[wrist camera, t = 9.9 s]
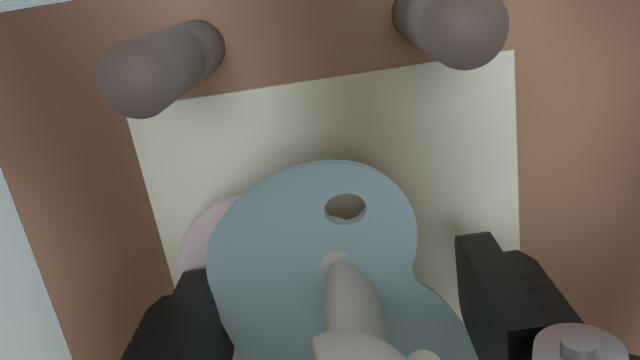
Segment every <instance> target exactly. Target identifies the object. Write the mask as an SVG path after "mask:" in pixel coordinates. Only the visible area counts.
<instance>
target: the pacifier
mask: <svg viewBox="0 0 640 360" xmlns="http://www.w3.org/2000/svg"><path fill="white" fill-rule="evenodd" d="M340 194H354V195H357V196H359V197H361V198H362V199H363V200H364V202H365V208H364V210H363V211H362V212H361V213H360V214H359V215H358V216H356V217H354V218H352V219H348V220H345V219H342V218H339V217H336V216H329V214H328V213H327V212H326V211H325V208H324V207H325V205H326V203H327V202H328V201H329V200H330V199H331V198H332V197H334V196H336V195H340ZM417 240H418V233H417V222H416V218H415V215H414V212H413V209H412V206H411V204H410V202H409V201H408V199H407V197H406V196H405V195H404V193H403V192H402V190H401V189H400V188H399V187H398V186H397V184H396V183H395V182H393V181H392V180H391V179H390V178H389V177H388V176H387V175H385V174H384V173H382V172H381V171H379V170H377V169H375V168H373V167H371V166H369V165H366V164H363V163H359V162H354V161H349V160H319V161H313V162H308V163H303V164H299V165H296V166H293V167H289V168H286V169H283V170H280V171H278V172H276V173H274V174H272V175H270V176H268V177H266V178H264V179H262V180H261V181H259V182H258V183H256V184H255V185H254V186H252V187H251V188H249V189H248V190H246V191H245V192H244V193H243V194H242V195H237V196H233V197H228V198H224V199H220V200H216V201H214V202H213V203H211V204H210V205H209V206H207V207H206V208H204V209H203V210H202V211H200V212H199V213H198V214H196V215H195V217H194V218H193V220H192V222H191V223H190V225H189V227H188V228H187V230H186V232H185V233H184V235H183V237H182V242H181V247H180V252H179V257H178V261H177V263H178V277H179V279H180V277H181V275H182V273H183V272H184V271H191V270H199V269H206V274H207V280H208V284H209V286H210V289H211V292H212V294H213V297H214V300H215V303H216V306H217V309H218V313H219V316H220V319H221V323H222V325H223V327H224V328H225V330H226V332H227V334H228V336H229V337H230V339H231V341H232V343H233V344H234V346H235V347H234V354H233V358H232V360H408V359H407V358H408V356H409V355H410V354H411V353H412V352H414V351H416V350H428V351H431V352H433V353H435V354H436V355H437V356H438V357H439V358H440V359H441V360H478V358H477V355H476V352H475V349H474V347H473V345H472V342H471V340H470V337H469V335H468V332H467V330H466V328H465V326H464V324H463V322H462V321H461V320H460V318H459V317H458V316H457V314H456V313H455V312H454V311H453V309H452V308H451V307H450V305H449V304H448V303H447V302H446V301H445V300H444V299H443V298H441V297H440V296H439V295H438V294H437V293H436V292H435V291H434V290H433V289H431V288H430V287H428V286H427V285H425V284H424V283H422V282H421V281H419V280H417V279H416V278H415V276H414V273H413V270H412V265H413V262H414V259H415V256H416V250H417Z"/></svg>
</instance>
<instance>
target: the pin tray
mask: <svg viewBox="0 0 640 360" xmlns="http://www.w3.org/2000/svg"><path fill="white" fill-rule="evenodd" d="M319 160H349V161H354V162H359V163H363V164H366V165H369V166H371V167H373V168H375V169H377V170H379V171H381V172H382V173H384V174H385V175H387V176H388V177H389V178H390V179H391V180H392V181H393V182H395V183H396V184H397V186H398V187H399V188H400V189H401V190H402V192H403V193H404V195H405V196H406V197H407V199H408V201H409V202H410V204H411V206H412V209H413V212H414V215H415V218H416V222H417V233H418V240H417V250H416V256H415V259H414V262H413V265H412V270H413V273H414V276H415V278H416V279H417V280H419V281H421V282H422V283H424V284H425V285H427V286H428V287H430V288H431V289H433V290H434V291H435V292H436V293H437V294H438V295H439V296H440V297H441V298H443V299H444V300H445V301H446V302H447V303H448V304H449V305H450V307H451V308H452V309H453V311H454V312H455V313H456V314H457V316H458V317H459V318H460V320H461V321H462V322H463V319H462V315H461V310H460V305H459V297H458V284H457V271H456V258H455V236H456V235H464V234H472V233H479V232H487V231H489V232H491V234H492V235H493V237H494V238H495V240H496V241H497V243H498V244H499V246H500V247H501V249H502V250H503V252H504V251H512V250H519V251H521V252H523V253H525V254H526V255H528V256H530V257H532V258H534V259H535V260H537V262H538V263H539V264H540V266H541V267H542V268H543V269H544V271H545V272H546V273H547V276H549V277H550V279H551V280H552V281H553V283H554V284H555V287H556V288H558V289H559V291H560V292H561V293H562V294H563V296H564V297H565V298H566V300H567V301H568V302H569V304H570V305H571V306H572V308H573V309H574V310H575V312H576V313H577V314H578V316H579V317H580V318H581V319H582V321H583V322H584V323H585V324H587V325H591V326H595V327H598V328H601V329H603V330H605V331H607V332H609V333H611V334H613V335H614V336H615V337H617V338H618V339H619V340H620V341H621V342H622V343H623V344H624V345H625V347H626V349H627V351H628V353H629V354H633V355H638V356H640V0H74V1H68V2H62V3H56V4H49V5H43V6H37V7H31V8H25V9H19V10H13V11H7V12H1V13H0V166H1V169H2V172H3V174H4V177H5V180H6V182H7V185H8V188H9V190H10V193H11V196H12V198H13V201H14V204H15V206H16V209H17V212H18V214H19V217H20V220H21V222H22V225H23V228H24V230H25V233H26V236H27V238H28V241H29V243H30V246H31V249H32V251H33V254H34V257H35V259H36V262H37V265H38V267H39V270H40V273H41V275H42V278H43V281H44V283H45V286H46V289H47V291H48V294H49V297H50V299H51V302H52V305H53V307H54V310H55V313H56V315H57V318H58V321H59V323H60V326H61V329H62V331H63V334H64V337H65V339H66V342H67V345H68V347H69V350H70V353H71V355H72V358H73V360H120V359H121V357H122V355H123V353H124V351H125V349H126V347H127V346H128V344H129V342H130V341H132V336H133V334H134V332H135V331H136V329H137V328H138V325H139V323H140V321H141V319H142V318H143V316H144V314H145V312H146V310H147V309H148V308H149V307H151V306H152V305H153V304H154V303H155V302H156V301H157V300H158V299H159V298H161V297H162V296H165V295H172V293H173V291H174V289H175V287H176V285H177V283H178V281H179V277H178V263H177V261H178V257H179V252H180V247H181V242H182V237H183V235H184V233H185V232H186V230H187V228H188V227H189V225H190V223H191V222H192V220H193V218H194V217H195V215H196V214H198V213H199V212H200V211H202V210H203V209H204V208H206V207H207V206H209V205H210V204H211V203H213V202H214V201H216V200H220V199H224V198H228V197H233V196H237V195H242V194H243V193H244V192H245V191H246V190H248V189H249V188H251V187H252V186H254V185H255V184H256V183H258V182H259V181H261V180H262V179H264V178H266V177H268V176H270V175H272V174H274V173H276V172H278V171H280V170H283V169H286V168H289V167H293V166H296V165H299V164H303V163H308V162H313V161H319ZM324 208H325V211H326V212H327V213H328V214H329V216H336V217H339V218H342V219H345V220H348V219H352V218H354V217H356V216H358V215H359V214H360V213H361V212H362V211H363V210H364V208H365V202H364V200H363V199H362V198H361V197H359V196H357V195H354V194H340V195H336V196H334V197H332V198H331V199H330V200H329V201H328V202H327V203H326V205H325V207H324ZM463 324H464V322H463ZM464 326H465V325H464ZM465 328H466V327H465ZM476 355H477V354H476ZM477 358H478V357H477ZM407 359H408V360H441V359H440V358H439V357H438V356H437V355H436V354H435V353H433V352H431V351H428V350H416V351H414V352H412V353H411V354H410V355H409V356H408V358H407ZM478 360H479V359H478Z"/></svg>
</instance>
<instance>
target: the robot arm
mask: <svg viewBox="0 0 640 360" xmlns="http://www.w3.org/2000/svg"><path fill="white" fill-rule="evenodd" d="M455 258H456V271H457V284H458V297H459V305H460V310H461V315H462V319H463V322H464V325H465V327H466V330H467V332H468V335H469V337H470V340H471V342H472V345H473V347H474V349H475V352H476V354H477V357H478V359H479V360H640V356H638V355H633V354H629V353H628V351H627V349H626V347H625V345H624V344H623V343H622V342H621V341H620V340H619V339H618V338H617V337H615V336H614V335H613V334H611V333H609V332H607V331H605V330H603V329H601V328H598V327H595V326H591V325H587V324H585V323H584V322H583V321H582V319H581V318H580V317H579V316H578V314H577V313H576V312H575V310H574V309H573V308H572V306H571V305H570V304H569V302H568V301H567V300H566V298H565V297H564V296H563V294H562V293H561V292H560V291H559V289H558V288H556V287H555V284H554V283H553V281H552V280H551V279H550V277H549V276H547V273H546V272H545V271H544V269H543V268H542V267H541V266H540V264H539V263H538V262H537V260H535V259H534V258H532V257H530V256H528V255H526V254H525V253H523V252H521V251H519V250H512V251H504V252H503V250H502V249H501V247H500V246H499V244H498V243H497V241H496V240H495V238H494V237H493V235H492V234H491V232H489V231H487V232H479V233H472V234H464V235H456V236H455ZM234 347H235V346H234V344H233V343H232V341H231V339H230V337H229V336H228V334H227V332H226V330H225V328H224V327H223V325H222V323H221V319H220V316H219V313H218V309H217V306H216V303H215V300H214V297H213V294H212V292H211V289H210V286H209V284H208V280H207V274H206V269H199V270H191V271H184V272H183V273H182V275H181V277H180V279H179V281H178V283H177V285H176V287H175V289H174V291H173V293H172V295H165V296H162V297H161V298H159V299H158V300H157V301H156V302H155V303H154V304H153V305H152V306H151V307H149V308H148V309H147V310H146V312H145V314H144V316H143V318H142V319H141V321H140V323H139V325H138V328H137V329H136V331H135V332H134V334H133V336H132V341H130V342H129V344H128V346H127V347H126V349H125V351H124V353H123V355H122V357H121V359H120V360H232V358H233V354H234Z"/></svg>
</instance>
